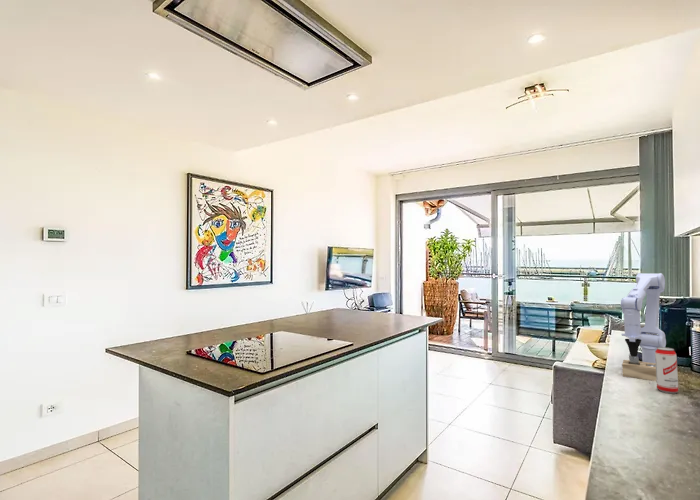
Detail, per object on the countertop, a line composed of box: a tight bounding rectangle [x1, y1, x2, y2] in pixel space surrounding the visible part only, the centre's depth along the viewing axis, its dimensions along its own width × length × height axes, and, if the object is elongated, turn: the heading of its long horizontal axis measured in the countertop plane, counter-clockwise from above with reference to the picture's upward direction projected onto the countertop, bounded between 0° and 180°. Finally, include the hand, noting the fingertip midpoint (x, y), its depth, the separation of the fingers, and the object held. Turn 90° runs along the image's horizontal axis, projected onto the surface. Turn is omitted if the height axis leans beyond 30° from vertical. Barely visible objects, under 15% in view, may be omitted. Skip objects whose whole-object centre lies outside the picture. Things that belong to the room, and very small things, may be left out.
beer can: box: [655, 346, 679, 394], centre depth 143 cm, size 6×6×16 cm
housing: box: [621, 359, 657, 382], centre depth 163 cm, size 11×13×5 cm
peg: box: [628, 355, 640, 365], centre depth 164 cm, size 3×3×5 cm
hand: (633, 355), depth 164 cm, fingers closed
